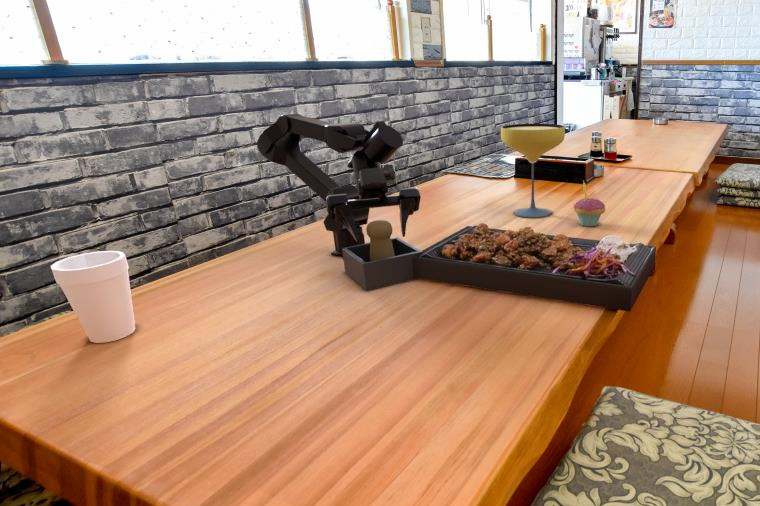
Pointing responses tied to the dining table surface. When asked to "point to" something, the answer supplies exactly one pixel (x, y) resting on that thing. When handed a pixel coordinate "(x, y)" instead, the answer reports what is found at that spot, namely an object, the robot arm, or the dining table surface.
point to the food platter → (541, 265)
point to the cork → (380, 239)
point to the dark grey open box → (380, 265)
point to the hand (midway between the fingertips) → (381, 238)
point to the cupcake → (589, 210)
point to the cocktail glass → (532, 151)
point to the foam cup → (98, 293)
